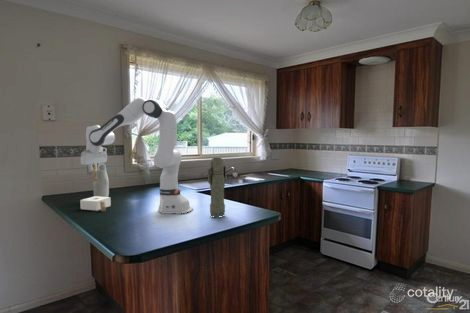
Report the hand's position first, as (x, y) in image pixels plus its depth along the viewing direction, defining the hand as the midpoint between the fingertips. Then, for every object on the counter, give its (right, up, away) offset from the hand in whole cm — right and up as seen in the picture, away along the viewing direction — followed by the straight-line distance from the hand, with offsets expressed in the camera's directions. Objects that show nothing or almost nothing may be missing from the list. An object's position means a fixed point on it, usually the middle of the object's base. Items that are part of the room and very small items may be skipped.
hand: (94, 170), depth 194 cm
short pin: (+9, -26, -7) cm, 28 cm away
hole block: (0, -25, +2) cm, 25 cm away
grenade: (+83, -27, -19) cm, 90 cm away
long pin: (0, -8, +1) cm, 8 cm away
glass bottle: (-5, -24, +22) cm, 33 cm away
